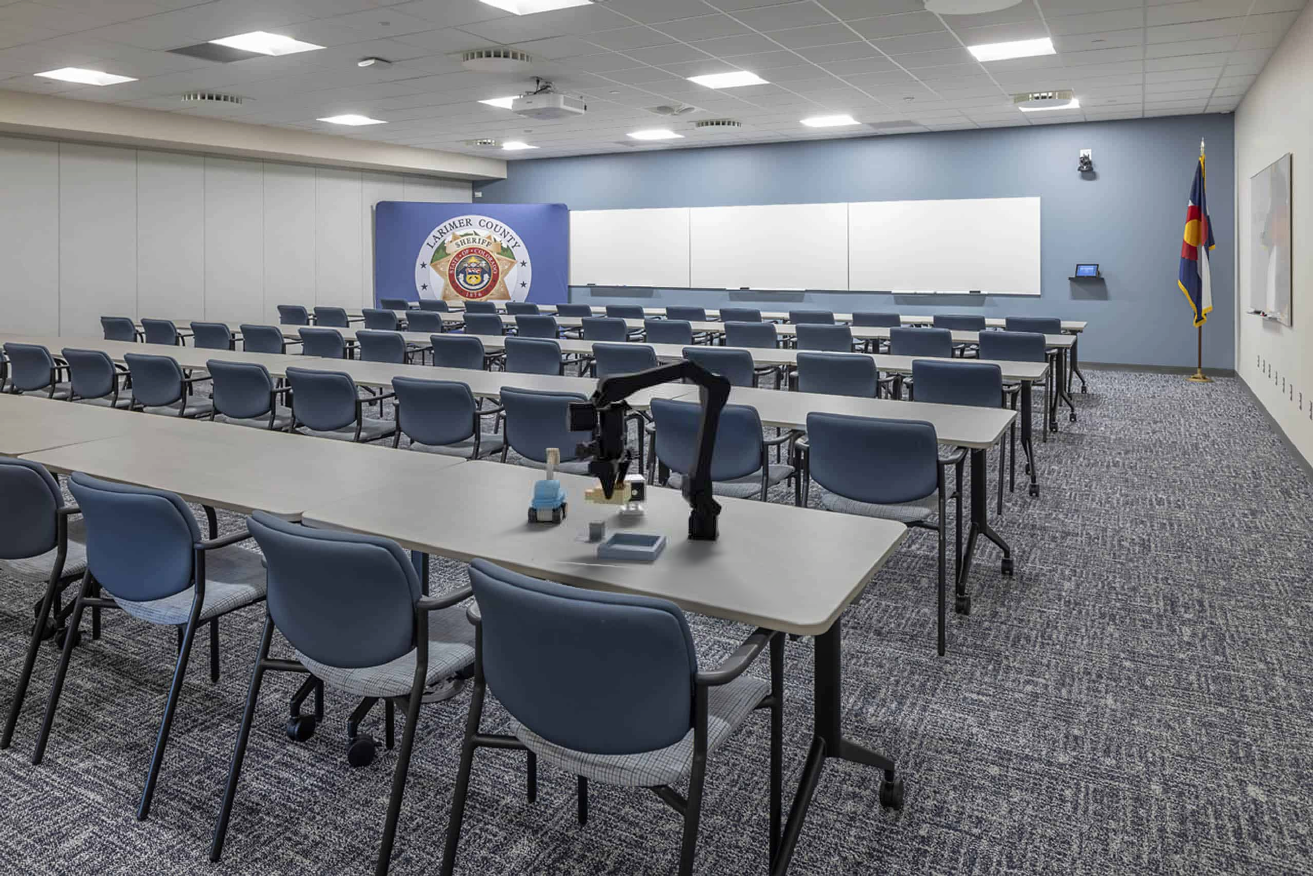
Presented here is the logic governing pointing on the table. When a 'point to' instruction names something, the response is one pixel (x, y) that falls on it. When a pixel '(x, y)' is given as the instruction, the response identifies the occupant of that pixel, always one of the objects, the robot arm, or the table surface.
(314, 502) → the table surface
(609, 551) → the tray
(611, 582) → the table surface
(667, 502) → the table surface
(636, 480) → the security camera
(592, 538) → the grey peg base
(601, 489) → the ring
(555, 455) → the toy excavator
